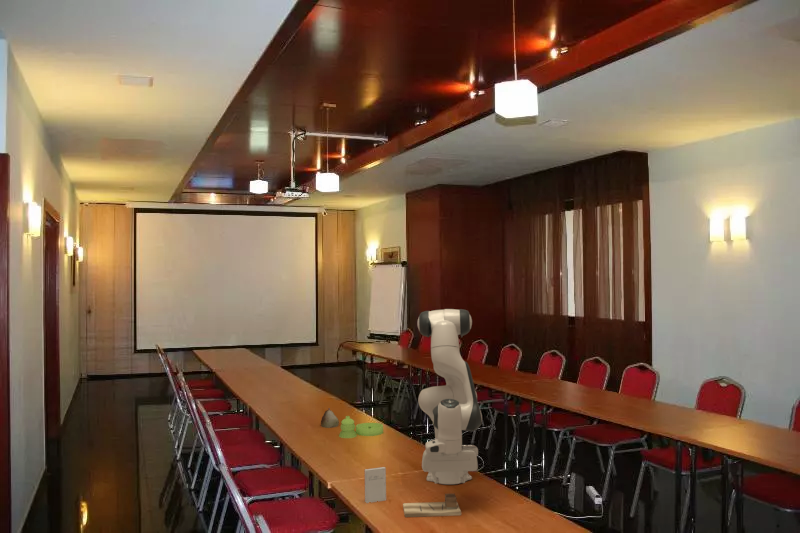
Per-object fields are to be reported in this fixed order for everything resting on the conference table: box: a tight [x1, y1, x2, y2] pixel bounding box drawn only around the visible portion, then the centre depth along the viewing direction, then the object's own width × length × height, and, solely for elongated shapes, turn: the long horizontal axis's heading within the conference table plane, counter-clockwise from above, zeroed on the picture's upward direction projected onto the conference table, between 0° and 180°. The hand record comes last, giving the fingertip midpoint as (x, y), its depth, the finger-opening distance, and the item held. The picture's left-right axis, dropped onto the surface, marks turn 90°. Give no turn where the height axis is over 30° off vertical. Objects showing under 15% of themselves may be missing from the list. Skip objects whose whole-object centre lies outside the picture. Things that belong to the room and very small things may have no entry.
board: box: [402, 501, 462, 518], centre depth 239 cm, size 11×20×1 cm, turn 93°
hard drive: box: [364, 466, 387, 504], centre depth 250 cm, size 2×8×12 cm, turn 112°
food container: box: [338, 415, 384, 439], centre depth 351 cm, size 25×14×13 cm, turn 122°
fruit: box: [320, 408, 340, 429], centre depth 369 cm, size 10×9×12 cm
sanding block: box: [444, 493, 458, 509], centre depth 239 cm, size 5×4×4 cm
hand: (449, 482), depth 240 cm, fingers open, 8 cm apart
